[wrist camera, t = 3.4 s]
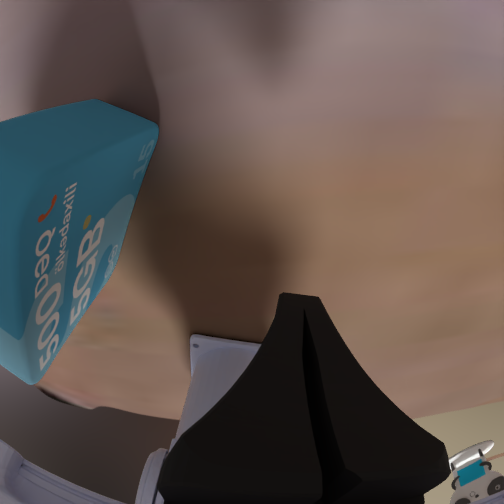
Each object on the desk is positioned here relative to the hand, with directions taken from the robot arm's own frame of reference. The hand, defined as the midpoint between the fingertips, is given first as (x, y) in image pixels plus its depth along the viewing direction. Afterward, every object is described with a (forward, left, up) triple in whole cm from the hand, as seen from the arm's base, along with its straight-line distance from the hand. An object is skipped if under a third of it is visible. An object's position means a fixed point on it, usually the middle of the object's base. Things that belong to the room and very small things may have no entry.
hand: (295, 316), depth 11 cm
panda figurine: (-40, -43, -9) cm, 60 cm away
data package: (0, +12, -9) cm, 15 cm away
